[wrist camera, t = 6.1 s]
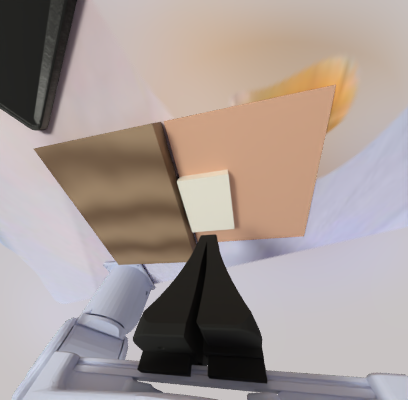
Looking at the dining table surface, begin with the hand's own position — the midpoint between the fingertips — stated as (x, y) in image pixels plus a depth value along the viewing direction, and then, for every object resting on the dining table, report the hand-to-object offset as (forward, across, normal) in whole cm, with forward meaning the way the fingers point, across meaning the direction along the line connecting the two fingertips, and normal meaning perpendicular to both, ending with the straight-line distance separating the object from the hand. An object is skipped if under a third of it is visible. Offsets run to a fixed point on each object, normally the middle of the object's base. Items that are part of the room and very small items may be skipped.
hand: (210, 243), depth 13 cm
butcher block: (+8, +11, 0) cm, 14 cm away
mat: (+8, -4, -1) cm, 9 cm away
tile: (+8, +1, 0) cm, 8 cm away
